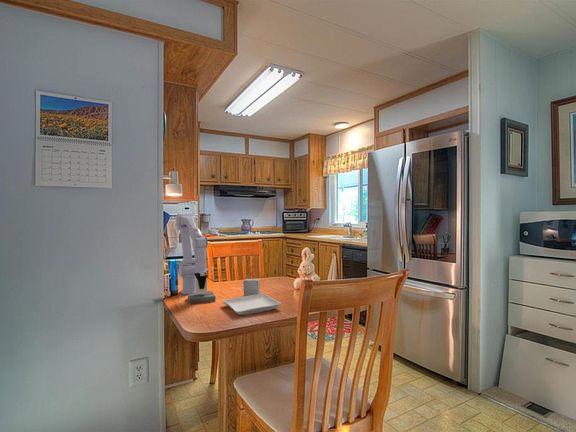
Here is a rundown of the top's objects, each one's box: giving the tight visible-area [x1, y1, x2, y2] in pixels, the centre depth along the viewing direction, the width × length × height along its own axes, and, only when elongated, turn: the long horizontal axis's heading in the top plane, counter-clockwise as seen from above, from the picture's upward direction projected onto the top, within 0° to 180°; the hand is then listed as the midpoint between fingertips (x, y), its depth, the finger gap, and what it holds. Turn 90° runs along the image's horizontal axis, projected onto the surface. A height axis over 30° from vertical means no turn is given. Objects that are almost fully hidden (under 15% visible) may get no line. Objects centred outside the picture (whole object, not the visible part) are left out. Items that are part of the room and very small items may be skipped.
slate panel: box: [187, 290, 217, 305], centre depth 162 cm, size 12×12×3 cm
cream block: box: [195, 279, 208, 293], centre depth 162 cm, size 5×5×6 cm
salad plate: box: [222, 293, 282, 316], centre depth 147 cm, size 21×21×3 cm
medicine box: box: [242, 278, 261, 297], centre depth 167 cm, size 8×4×9 cm, turn 84°
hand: (201, 287), depth 162 cm, fingers closed on cream block, 5 cm apart
